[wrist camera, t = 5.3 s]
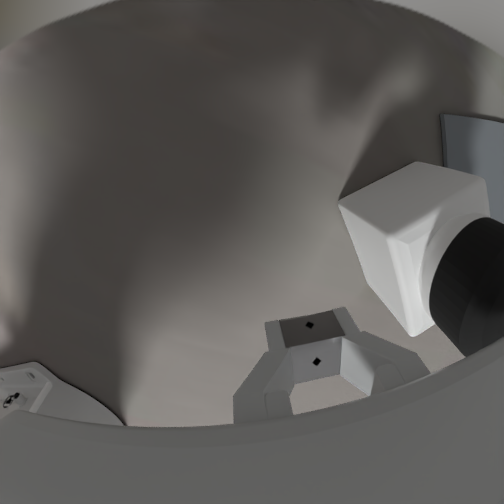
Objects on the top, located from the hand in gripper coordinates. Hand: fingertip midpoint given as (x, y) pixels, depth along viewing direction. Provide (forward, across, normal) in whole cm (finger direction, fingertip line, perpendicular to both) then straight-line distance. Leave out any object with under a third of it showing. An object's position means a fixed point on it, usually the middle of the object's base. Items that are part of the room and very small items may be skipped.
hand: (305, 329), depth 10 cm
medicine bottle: (+9, +9, 0) cm, 13 cm away
